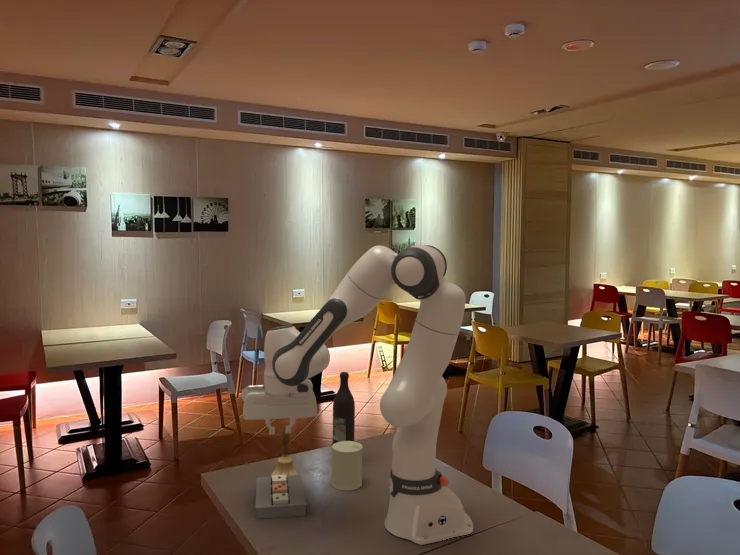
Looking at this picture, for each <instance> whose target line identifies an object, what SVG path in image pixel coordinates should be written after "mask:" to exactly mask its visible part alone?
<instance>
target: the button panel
mask: <svg viewBox="0 0 740 555" xmlns="http://www.w3.org/2000/svg"><path fill="white" fill-rule="evenodd" d="M286 480H287V493H288V504H279V505H273V495H272V477H271V476H258V477H256V478H255V520H262V518H264V519H265V518H267V519H277V518H278V517H280V518H291V517H303V516H305V517H306V516H307V504H306V496H305V490H304V485H303V478H302V474H298V475H289V476H286ZM278 519H279V518H278Z"/></svg>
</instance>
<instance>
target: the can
mask: <svg viewBox="0 0 740 555" xmlns="http://www.w3.org/2000/svg"><path fill="white" fill-rule="evenodd" d="M363 446H364V445H363V444H361V443H360V442H357V441H355V440H354V441H341V442H337V443H335V444H333V443H332V445H331V450H332V452H331V453H332V454H331V455H332V457H331V464H332V466H331V482H330V484H331V487H333V489H335V490H339V491H346V492H347V491H354V490H357V489H359V488H361V487H362V486H363V475H362V474H363V472H362V471H363Z"/></svg>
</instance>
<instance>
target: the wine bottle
mask: <svg viewBox="0 0 740 555" xmlns="http://www.w3.org/2000/svg"><path fill="white" fill-rule="evenodd" d="M349 376H350V373H349V372H348V371H341V372H340V373H339V378H340V380H339V381H340V384H339V388H338V390H337V392H336V393H335V396H334V398H333V402H332V445H333V444H335V443H337V442H341V441H354V442H355V430H356V429H355V425H356V424H355V422H356V421H355V419H356V413H355V412H356V405H355V399H354V396H353V393H352V392H351V389H350V387H349V378H350V377H349Z"/></svg>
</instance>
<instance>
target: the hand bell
mask: <svg viewBox="0 0 740 555" xmlns="http://www.w3.org/2000/svg"><path fill="white" fill-rule="evenodd" d="M286 426H288V425H287V424H284V425H283V426H282V428H281V429H282V430H281V432H280V440H281V445H282V448H281V449H282V452H281V454H282V455H281V457H278V458H277V461H276V462H277V463H276V468H275V469H274V471H273V472H272V473H271V475H270V477H272V475H286V476H289V475H299V473H298V472H297V471H296V470H295V467H294V464H293V458H291V457H290V456H289V451H288V449H289V447H288V446H289V445H288V444H289V443H290V434H286Z"/></svg>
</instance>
